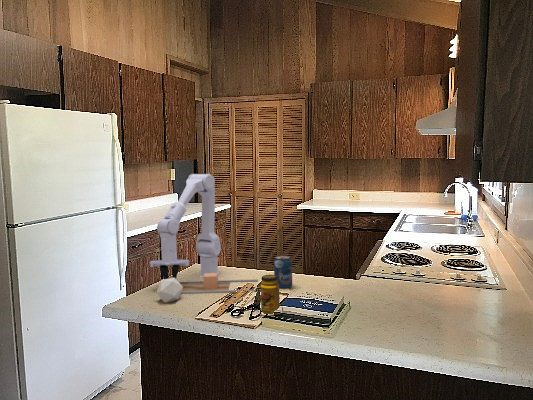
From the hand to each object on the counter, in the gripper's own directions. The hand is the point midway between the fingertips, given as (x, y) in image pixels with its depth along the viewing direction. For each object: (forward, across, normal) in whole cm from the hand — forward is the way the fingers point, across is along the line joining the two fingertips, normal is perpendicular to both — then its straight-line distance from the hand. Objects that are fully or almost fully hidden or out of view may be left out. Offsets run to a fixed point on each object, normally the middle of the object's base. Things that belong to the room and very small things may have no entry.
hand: (170, 284), depth 172 cm
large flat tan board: (+2, +10, 0) cm, 11 cm away
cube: (+2, +16, 0) cm, 16 cm away
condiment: (+2, +38, -27) cm, 47 cm away
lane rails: (+2, +16, 0) cm, 16 cm away
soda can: (+2, +44, -1) cm, 44 cm away
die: (+2, +2, -13) cm, 13 cm away
